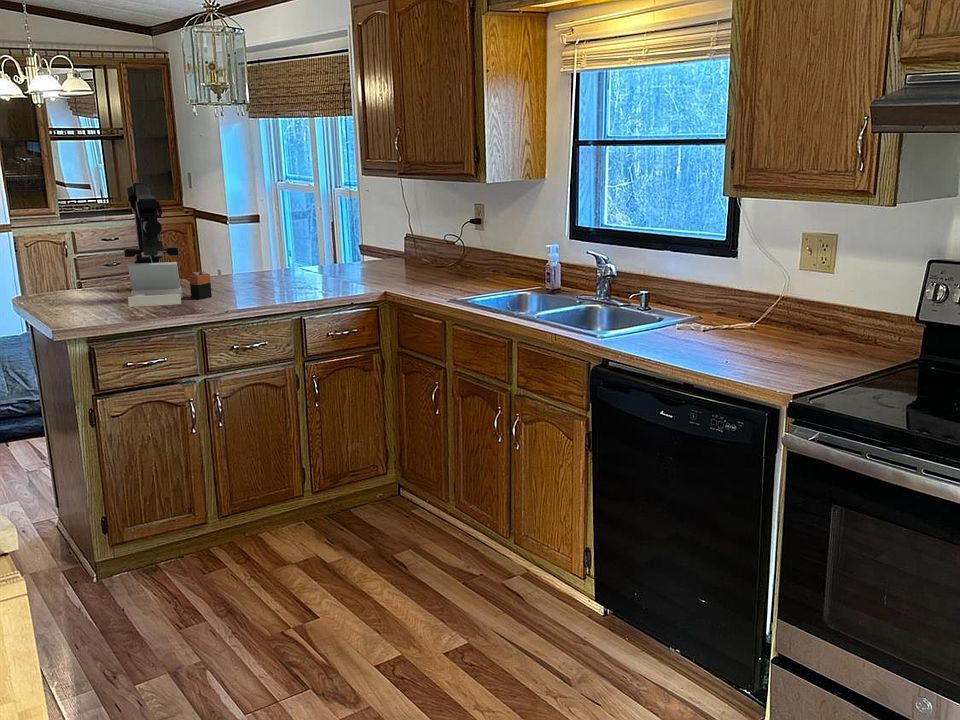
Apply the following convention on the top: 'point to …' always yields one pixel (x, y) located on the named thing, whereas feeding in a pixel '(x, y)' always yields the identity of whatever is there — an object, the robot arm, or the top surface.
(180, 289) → the white slat
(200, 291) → the battery
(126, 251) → the robot arm
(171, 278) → the cover
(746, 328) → the top surface
